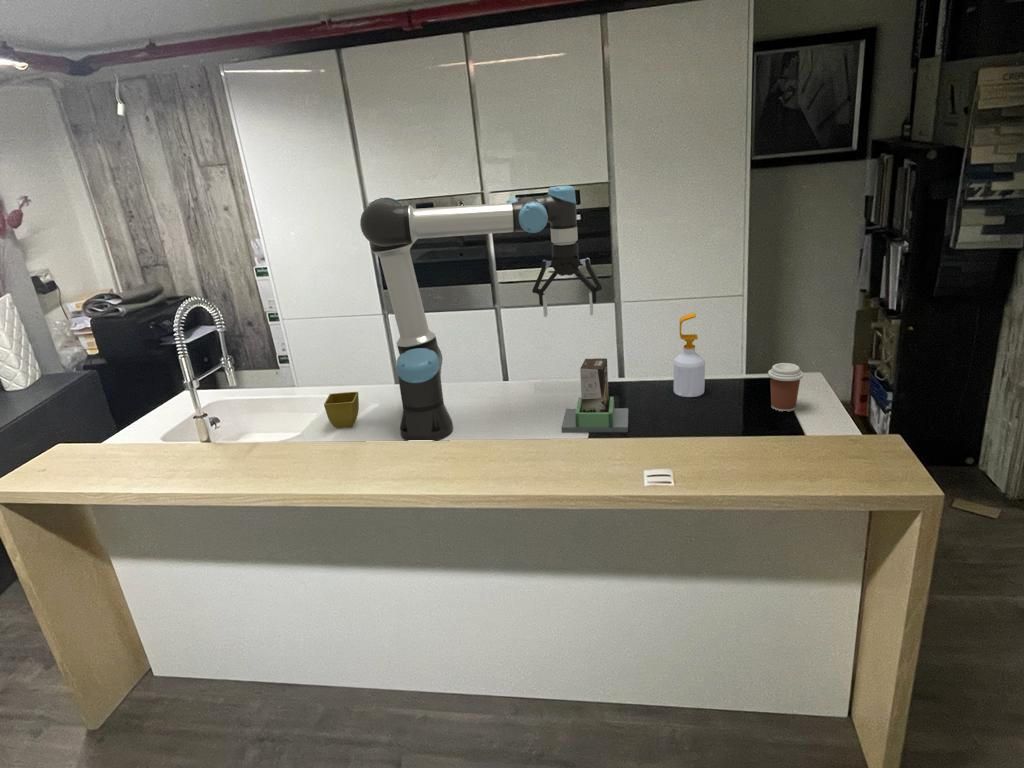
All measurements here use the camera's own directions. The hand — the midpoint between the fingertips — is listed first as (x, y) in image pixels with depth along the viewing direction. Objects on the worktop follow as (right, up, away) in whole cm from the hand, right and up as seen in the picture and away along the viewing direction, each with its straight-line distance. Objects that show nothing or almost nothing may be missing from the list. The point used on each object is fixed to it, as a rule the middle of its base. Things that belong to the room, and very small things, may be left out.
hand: (568, 314), depth 199 cm
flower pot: (-67, -33, +5) cm, 75 cm away
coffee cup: (+60, -27, -9) cm, 66 cm away
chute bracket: (+7, -31, -9) cm, 33 cm away
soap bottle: (+37, -23, +7) cm, 44 cm away
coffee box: (+7, -30, -9) cm, 32 cm away
